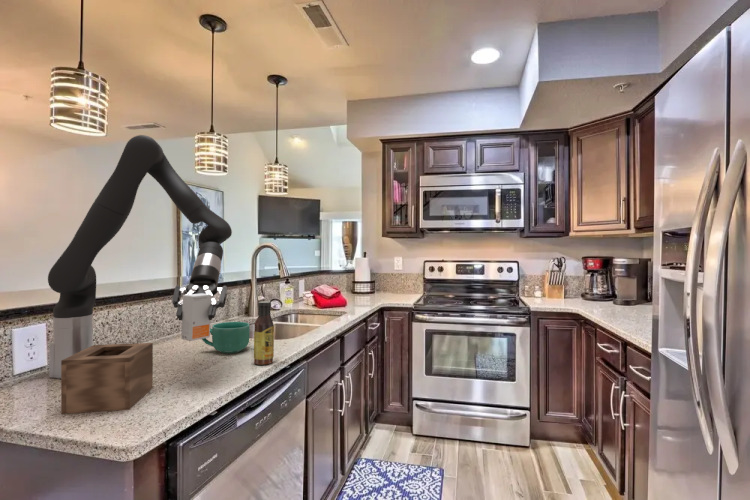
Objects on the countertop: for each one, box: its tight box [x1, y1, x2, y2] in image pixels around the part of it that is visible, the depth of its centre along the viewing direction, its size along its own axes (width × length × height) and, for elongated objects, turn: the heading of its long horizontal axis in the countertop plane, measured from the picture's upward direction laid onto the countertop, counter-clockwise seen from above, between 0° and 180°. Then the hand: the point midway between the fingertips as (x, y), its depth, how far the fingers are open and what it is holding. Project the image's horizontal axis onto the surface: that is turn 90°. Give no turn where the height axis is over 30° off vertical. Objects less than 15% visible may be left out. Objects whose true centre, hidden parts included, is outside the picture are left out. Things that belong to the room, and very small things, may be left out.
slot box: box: [60, 342, 154, 415], centre depth 95 cm, size 14×14×12 cm
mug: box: [201, 321, 251, 354], centre depth 140 cm, size 17×13×10 cm
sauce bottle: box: [253, 300, 275, 366], centre depth 126 cm, size 6×6×20 cm
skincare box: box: [180, 293, 211, 342], centre depth 106 cm, size 6×4×12 cm
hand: (195, 318), depth 104 cm, fingers closed on skincare box, 7 cm apart
